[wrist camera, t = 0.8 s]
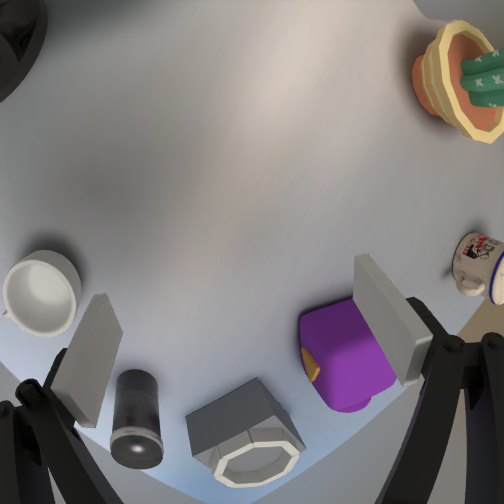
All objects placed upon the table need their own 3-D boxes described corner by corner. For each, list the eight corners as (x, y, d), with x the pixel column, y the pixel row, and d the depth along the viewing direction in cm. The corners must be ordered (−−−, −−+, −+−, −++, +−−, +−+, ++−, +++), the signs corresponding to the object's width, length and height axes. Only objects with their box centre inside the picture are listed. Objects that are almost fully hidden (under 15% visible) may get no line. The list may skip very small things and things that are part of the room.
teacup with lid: (481, 221, 42) (537, 241, 31) (482, 268, 46) (531, 293, 35) (436, 252, 41) (497, 281, 30) (439, 302, 44) (491, 335, 33)
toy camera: (307, 392, 42) (339, 441, 33) (280, 320, 37) (316, 371, 27) (372, 357, 43) (411, 397, 34) (358, 280, 38) (409, 317, 29)
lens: (106, 380, 33) (98, 450, 23) (139, 361, 33) (138, 432, 23) (135, 406, 35) (135, 475, 25) (167, 389, 36) (175, 459, 25)
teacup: (64, 228, 27) (46, 243, 22) (101, 293, 30) (92, 318, 25) (-2, 271, 26) (-24, 291, 21) (35, 329, 29) (19, 355, 24)
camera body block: (185, 416, 38) (195, 469, 29) (256, 377, 38) (280, 427, 30) (225, 449, 41) (239, 495, 33) (288, 415, 42) (312, 459, 34)
